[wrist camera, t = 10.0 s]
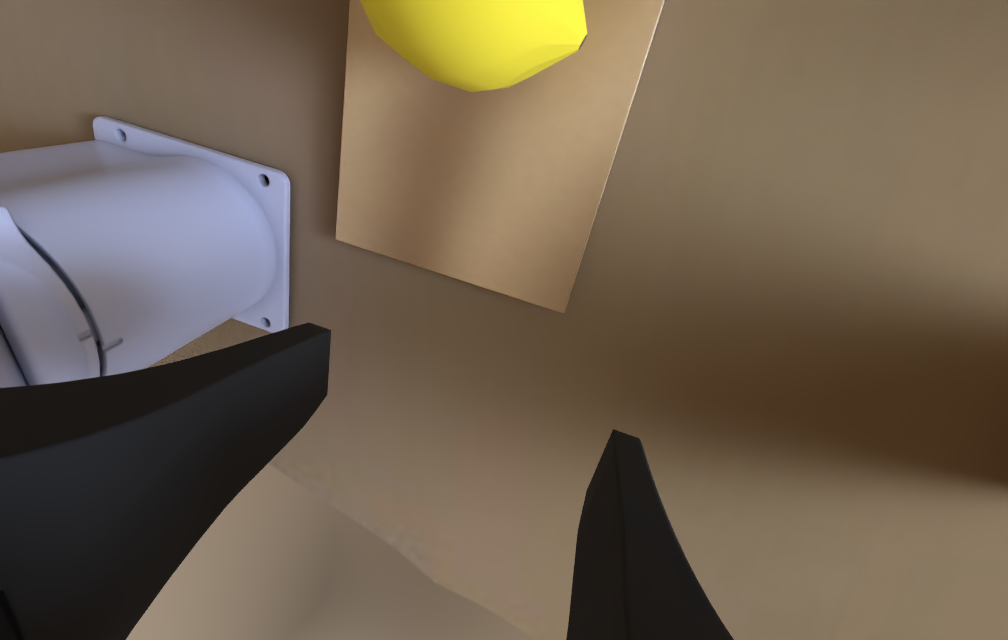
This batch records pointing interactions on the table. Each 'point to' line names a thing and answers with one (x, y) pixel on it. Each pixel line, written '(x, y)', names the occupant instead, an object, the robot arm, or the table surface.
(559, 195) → the birch board
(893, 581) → the table surface
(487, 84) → the lemon
